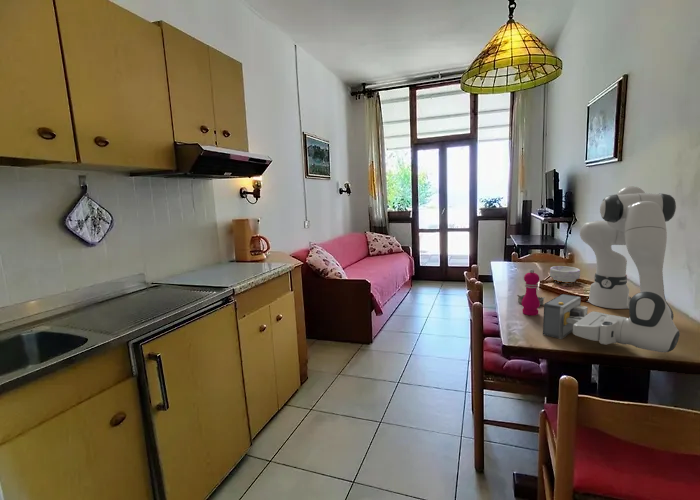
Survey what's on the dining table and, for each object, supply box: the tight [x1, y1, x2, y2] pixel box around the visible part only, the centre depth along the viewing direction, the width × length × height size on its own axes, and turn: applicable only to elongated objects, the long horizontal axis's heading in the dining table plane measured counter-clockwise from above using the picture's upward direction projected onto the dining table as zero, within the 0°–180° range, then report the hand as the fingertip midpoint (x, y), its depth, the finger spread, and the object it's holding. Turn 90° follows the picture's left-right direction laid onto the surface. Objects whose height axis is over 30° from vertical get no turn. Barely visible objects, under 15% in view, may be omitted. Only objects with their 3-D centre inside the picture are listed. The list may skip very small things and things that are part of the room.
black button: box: [570, 308, 583, 317], centre depth 134 cm, size 4×4×4 cm
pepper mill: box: [521, 268, 541, 317], centre depth 157 cm, size 7×7×20 cm
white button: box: [575, 305, 589, 317], centre depth 138 cm, size 4×4×4 cm
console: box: [542, 293, 582, 340], centre depth 137 cm, size 18×6×13 cm, turn 130°
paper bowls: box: [549, 265, 581, 283], centre depth 210 cm, size 15×15×8 cm
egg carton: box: [516, 294, 545, 306], centre depth 173 cm, size 11×8×4 cm
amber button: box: [564, 312, 570, 325], centre depth 133 cm, size 4×4×4 cm
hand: (567, 319), depth 131 cm, fingers closed, pressing on amber button
